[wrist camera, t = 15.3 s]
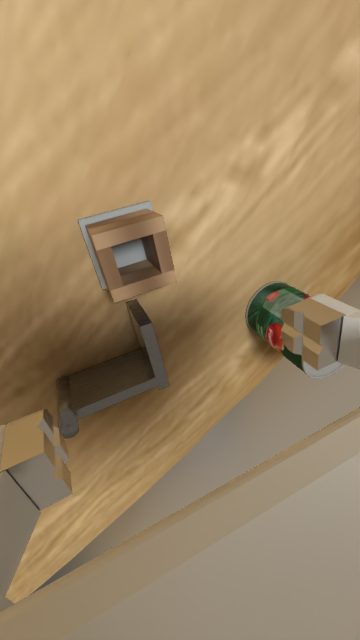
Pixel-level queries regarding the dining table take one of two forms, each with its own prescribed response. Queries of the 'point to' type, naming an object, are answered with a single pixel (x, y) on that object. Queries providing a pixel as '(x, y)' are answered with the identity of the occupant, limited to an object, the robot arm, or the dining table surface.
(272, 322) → the canned tomato
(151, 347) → the bent rail
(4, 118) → the dining table surface
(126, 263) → the mat
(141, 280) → the brown hollow square block
